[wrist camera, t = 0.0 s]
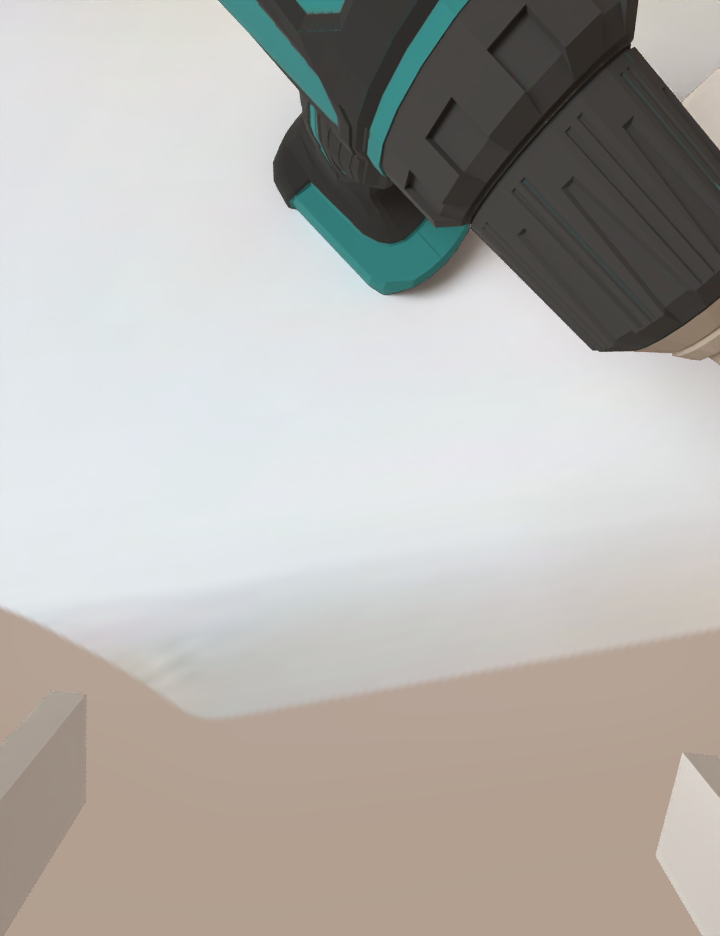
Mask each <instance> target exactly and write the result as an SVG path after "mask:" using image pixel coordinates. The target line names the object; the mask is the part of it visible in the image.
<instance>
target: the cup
mask: <svg viewBox="0 0 720 936" xmlns="http://www.w3.org/2000/svg"><path fill="white" fill-rule="evenodd" d="M681 104H682V105H683V106H684V107H685V108H686V110H687V111H688V112H689V113H690V114H691V116H692V117H693V118H694V119H695V121H696V122H697V123H698V124H699V125H700V127H701V128H702V129H703V130H704V132H705V133H706V134H707V135H708V136H709V138H710V139H711V140H712V141H713V142H714V144H715V145H716V146H717V147H718V149H719V150H720V67H719V68H718V69H717V70H716V71H715V72H714V73H713V74H712V75H710V76H709V77H708V78H707V79H706V80H705V81H704V82H703V83H702V84H701V85H699V86H698V87H697V88H696V89H695V90H694V91H693V92H692V93H691V94H690V95H689V96H688V97H687V98H686V99H685V100H684V101H683V102H682V103H681Z"/></svg>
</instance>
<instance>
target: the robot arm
mask: <svg viewBox="0 0 720 936" xmlns="http://www.w3.org/2000/svg"><path fill="white" fill-rule="evenodd" d="M85 802H86V694H81V693H71V692H61V691H50V692H49V693H48V694H47V695H46V697H44V698H43V700H42V701H41V702H40V703H39V704H38V705H37V706H36V707H35V708H34V709H33V710H32V711H31V713H30V714H29V715H28V716H27V717H26V718H25V719H24V720H23V721H22V722H21V723H20V725H19V726H18V727H17V728H16V729H15V730H14V731H13V732H12V733H11V734H10V735H9V736H8V737H7V739H6V740H5V741H4V742H3V743H2V744H1V745H0V936H4V934H5V932H6V931H7V929H8V928H9V926H10V924H11V923H12V921H13V919H14V918H15V916H16V915H17V913H18V911H19V910H20V908H21V906H22V905H23V903H24V902H25V900H26V898H27V897H28V895H29V893H30V892H31V890H32V888H33V887H34V885H35V884H36V882H37V880H38V879H39V877H40V876H41V874H42V872H43V871H44V869H45V867H46V866H47V864H48V863H49V861H50V859H51V858H52V856H53V854H54V853H55V851H56V849H57V848H58V846H59V844H60V843H61V841H62V840H63V838H64V837H65V835H66V833H67V832H68V830H69V828H70V827H71V825H72V824H73V822H74V820H75V819H76V817H77V815H78V813H79V812H80V811H81V809H82V807H83V806H84V804H85ZM656 857H657V859H658V861H659V863H660V864H661V866H662V868H663V869H664V871H665V873H666V875H667V876H668V878H669V880H670V881H671V883H672V885H673V887H674V888H675V890H676V891H677V893H678V895H679V896H680V898H681V900H682V902H683V904H684V905H685V907H686V909H687V910H688V912H689V914H690V916H691V917H692V919H693V921H694V922H695V924H696V926H697V928H698V929H699V931H700V933H701V934H702V936H720V759H719V758H718V757H717V756H713V755H704V754H694V753H693V754H692V753H682V757H681V761H680V765H679V768H678V772H677V776H676V780H675V784H674V787H673V792H672V795H671V799H670V803H669V807H668V810H667V814H666V818H665V821H664V825H663V830H662V833H661V837H660V840H659V845H658V848H657V852H656Z"/></svg>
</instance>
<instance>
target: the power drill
mask: <svg viewBox="0 0 720 936" xmlns="http://www.w3.org/2000/svg"><path fill="white" fill-rule="evenodd" d="M218 1H219V2H220V3H221V4H222V5H223V6H224V7H225V8H226V9H227V10H228V11H229V12H230V13H231V14H232V15H233V17H234V18H235V19H236V20H237V21H238V22H239V23H240V24H241V25H242V26H243V27H244V28H245V29H246V30H247V31H248V33H249V34H250V35H251V36H252V37H253V38H254V39H255V40H256V42H257V43H258V44H259V45H260V46H261V47H262V49H263V50H264V51H265V52H266V53H267V54H268V55H269V57H270V58H271V59H272V60H273V61H274V62H275V63H276V65H277V66H278V67H279V68H280V69H281V70H282V71H283V73H284V74H285V75H286V76H287V77H288V78H289V79H290V81H291V82H292V83H293V84H294V85H295V86H296V88H297V89H298V90H299V93H300V100H301V105H302V113H301V114H300V115H299V117H298V118H297V119H296V120H295V121H294V123H293V124H292V126H291V127H290V128H289V130H288V131H287V133H286V134H285V136H284V138H283V140H282V142H281V144H280V146H279V149H278V152H277V154H276V156H275V159H274V161H273V173H274V182H275V184H276V186H277V188H278V190H279V192H280V194H281V196H282V197H283V199H284V201H285V203H286V204H287V206H288V207H289V208H292V209H293V208H296V209H297V210H298V211H299V212H300V213H301V214H302V215H303V216H304V217H305V218H306V219H307V221H308V222H309V223H310V224H311V225H312V226H313V227H314V228H315V229H316V230H317V231H318V232H319V233H320V234H321V235H322V236H323V238H324V239H325V240H326V241H327V242H328V243H329V244H330V245H331V246H332V247H333V248H334V249H335V250H336V251H337V252H338V253H339V255H340V256H341V257H342V258H343V259H344V260H345V261H346V262H347V263H348V264H349V265H350V266H351V267H352V268H353V269H354V270H355V271H356V273H357V274H358V275H359V276H360V277H361V278H362V279H363V280H364V281H365V282H366V283H367V284H368V285H369V286H370V287H372V288H373V289H375V290H376V291H378V292H379V293H381V294H383V295H387V294H392V293H397V292H399V291H403V290H406V289H410V288H413V287H415V286H416V285H418V284H420V283H421V282H423V281H425V280H426V279H428V278H429V277H431V276H432V275H433V274H434V273H435V272H437V271H438V270H439V269H440V268H441V267H442V266H443V265H444V264H445V263H446V262H447V261H448V260H449V259H450V257H451V256H452V255H453V254H454V253H455V252H456V250H457V249H458V247H459V245H460V244H461V242H462V241H463V239H464V237H465V236H466V234H467V232H468V230H469V226H470V224H472V225H471V229H472V230H473V231H474V232H475V233H476V234H477V235H478V236H479V237H480V238H481V239H482V240H483V241H484V242H485V243H486V244H487V245H488V246H489V247H490V248H491V249H492V250H493V251H494V252H495V253H496V254H497V255H498V256H499V257H500V258H501V259H502V260H503V261H504V262H505V263H506V264H507V265H508V266H509V267H510V268H511V269H512V270H513V271H514V272H515V273H516V274H517V275H518V276H519V277H520V278H521V279H522V280H523V281H524V282H525V283H526V284H527V285H528V286H529V287H530V288H531V289H532V290H533V291H534V292H535V293H536V294H537V295H538V296H539V297H540V298H541V299H542V300H543V301H544V302H545V303H546V304H547V305H548V306H549V307H550V308H551V309H552V310H553V311H554V312H555V313H556V314H557V315H558V316H559V317H560V318H561V319H562V320H563V321H564V322H565V323H566V324H567V325H568V326H569V327H570V328H571V329H572V330H573V331H574V332H575V333H576V334H577V335H578V336H579V337H580V338H581V339H582V340H583V341H584V342H585V343H586V344H587V345H588V346H589V347H590V348H591V349H592V350H598V351H599V352H613V351H635V352H658V353H672V355H673V356H677V357H682V358H687V359H692V360H703V359H705V358H707V357H709V358H711V359H712V360H714V361H715V362H717V363H718V364H719V365H720V150H719V149H718V147H717V146H716V145H715V144H714V142H713V141H712V140H711V139H710V138H709V136H708V135H707V134H706V133H705V132H704V130H703V129H702V128H701V127H700V125H699V124H698V123H697V122H696V121H695V119H694V118H693V117H692V116H691V114H690V113H689V112H688V111H687V110H686V108H685V107H684V106H683V105H682V104H681V102H680V101H679V100H678V99H677V97H676V96H675V95H674V94H673V93H672V91H671V90H670V89H669V88H668V87H667V85H666V84H665V83H664V82H663V80H662V79H661V78H660V77H659V76H658V74H657V73H656V72H655V71H654V70H653V68H652V67H651V66H650V65H649V63H648V62H647V61H646V60H645V59H644V57H643V56H642V55H641V54H640V53H639V51H638V50H637V49H636V48H635V47H633V48H631V49H630V47H631V44H630V43H631V42H632V40H633V38H634V31H635V23H636V15H637V7H638V0H218Z"/></svg>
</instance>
